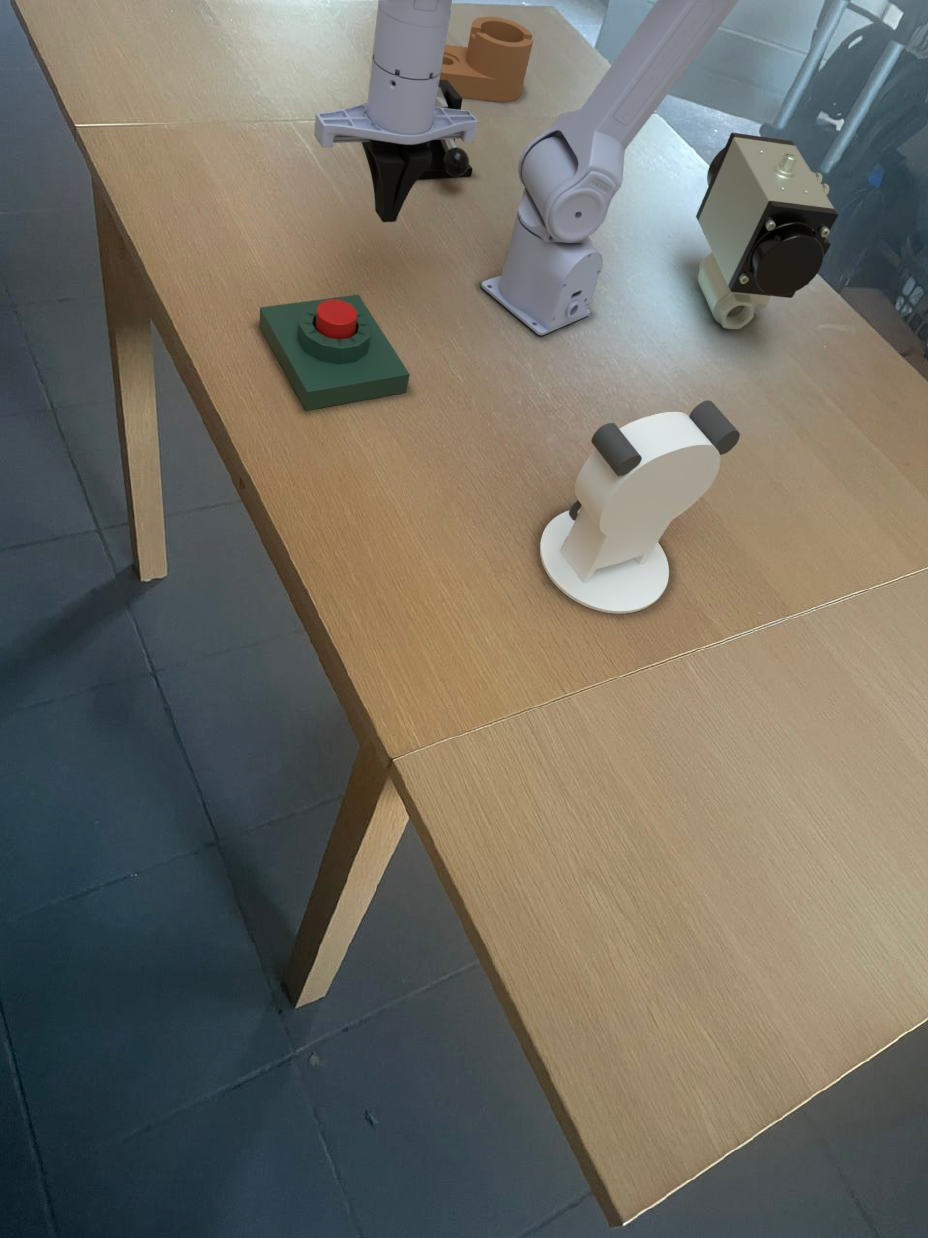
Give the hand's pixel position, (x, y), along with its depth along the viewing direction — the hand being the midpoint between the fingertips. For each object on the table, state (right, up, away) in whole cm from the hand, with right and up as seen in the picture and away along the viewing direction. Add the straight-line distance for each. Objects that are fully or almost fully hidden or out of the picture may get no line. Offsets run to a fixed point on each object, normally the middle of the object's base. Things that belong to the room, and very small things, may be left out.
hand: (385, 215), depth 86 cm
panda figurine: (+20, -33, -8) cm, 39 cm away
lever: (+5, +18, +21) cm, 28 cm away
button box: (-5, -13, 0) cm, 14 cm away
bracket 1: (+3, +19, +25) cm, 32 cm away
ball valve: (+37, -2, +19) cm, 41 cm away
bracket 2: (+6, +35, +39) cm, 52 cm away
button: (-4, -11, -3) cm, 12 cm away
